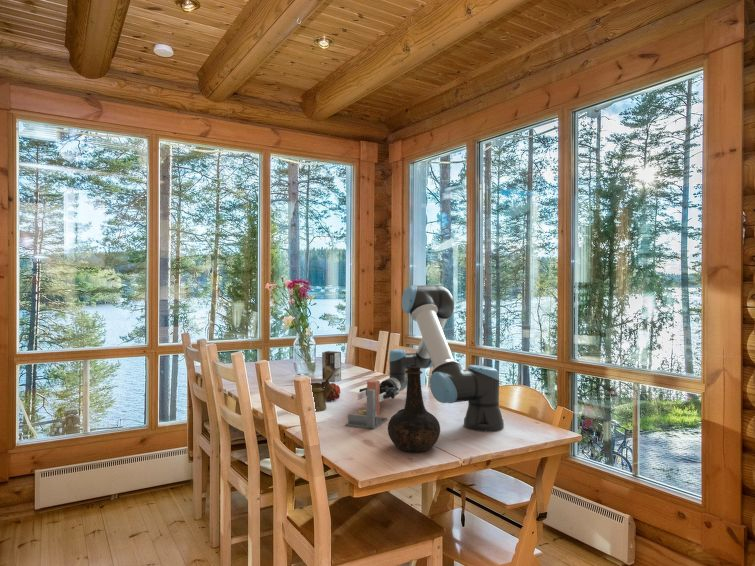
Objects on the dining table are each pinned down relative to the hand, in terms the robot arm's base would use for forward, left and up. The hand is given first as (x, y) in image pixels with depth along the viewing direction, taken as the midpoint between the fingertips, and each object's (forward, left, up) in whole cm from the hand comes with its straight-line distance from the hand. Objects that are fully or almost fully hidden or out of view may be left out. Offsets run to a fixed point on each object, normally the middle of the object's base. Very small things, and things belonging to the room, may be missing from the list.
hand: (368, 397), depth 216 cm
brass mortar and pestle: (+23, +11, -8) cm, 27 cm away
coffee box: (+79, -22, -8) cm, 82 cm away
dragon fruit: (+37, -1, -8) cm, 38 cm away
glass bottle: (-42, +7, -8) cm, 44 cm away
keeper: (-7, +5, -8) cm, 12 cm away
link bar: (+3, -4, -8) cm, 9 cm away
